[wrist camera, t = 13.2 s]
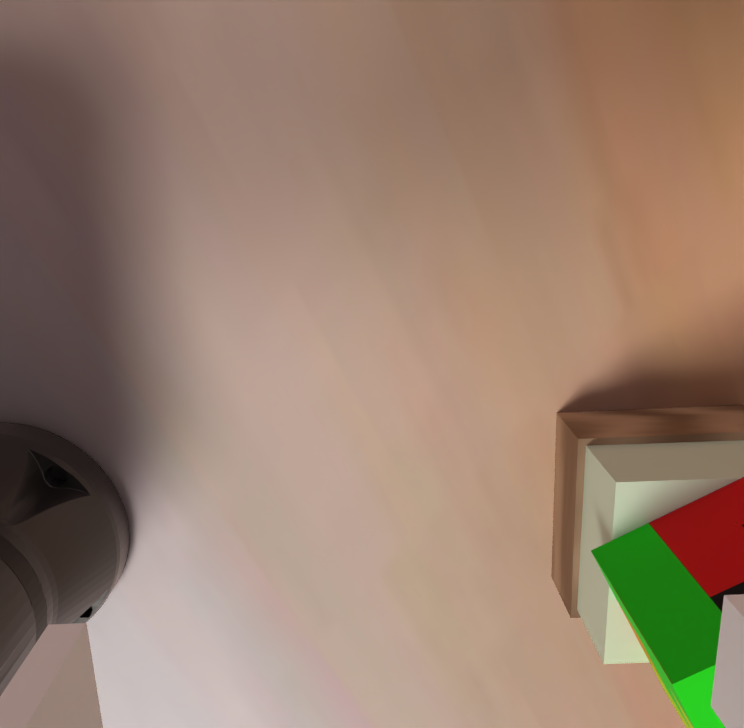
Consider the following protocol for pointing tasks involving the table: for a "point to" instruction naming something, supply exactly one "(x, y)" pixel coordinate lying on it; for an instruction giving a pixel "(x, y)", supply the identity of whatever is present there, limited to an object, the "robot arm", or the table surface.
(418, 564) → the table surface
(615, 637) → the top slab
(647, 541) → the puzzle toy
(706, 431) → the bottom slab
